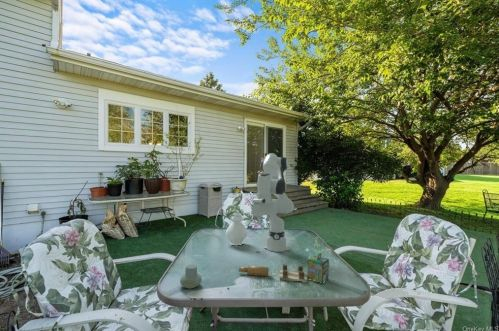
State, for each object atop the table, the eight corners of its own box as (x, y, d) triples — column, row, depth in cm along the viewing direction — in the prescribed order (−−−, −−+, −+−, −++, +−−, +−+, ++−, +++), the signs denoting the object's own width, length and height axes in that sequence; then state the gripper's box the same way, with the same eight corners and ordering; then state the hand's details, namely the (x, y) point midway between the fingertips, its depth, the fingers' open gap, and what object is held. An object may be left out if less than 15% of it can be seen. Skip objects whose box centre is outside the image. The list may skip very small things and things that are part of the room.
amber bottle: (240, 270, 149) (240, 263, 148) (268, 272, 147) (268, 265, 145) (238, 276, 145) (238, 269, 143) (268, 278, 142) (268, 271, 141)
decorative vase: (247, 247, 196) (247, 215, 197) (224, 247, 196) (225, 215, 197) (247, 241, 214) (248, 212, 214) (227, 240, 214) (227, 211, 215)
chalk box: (313, 274, 147) (314, 249, 147) (329, 279, 141) (329, 252, 142) (306, 279, 140) (307, 253, 140) (322, 284, 134) (322, 257, 134)
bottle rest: (279, 272, 149) (280, 264, 149) (305, 274, 147) (305, 265, 147) (279, 280, 138) (279, 271, 138) (307, 282, 136) (307, 273, 136)
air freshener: (202, 282, 134) (203, 263, 134) (200, 289, 125) (200, 269, 126) (182, 282, 133) (182, 263, 133) (178, 289, 125) (178, 269, 125)
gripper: (268, 198, 163) (267, 219, 162) (250, 200, 146) (250, 223, 146) (276, 199, 160) (276, 220, 159) (259, 200, 143) (259, 225, 142)
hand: (263, 222), depth 152 cm, fingers open, 8 cm apart
